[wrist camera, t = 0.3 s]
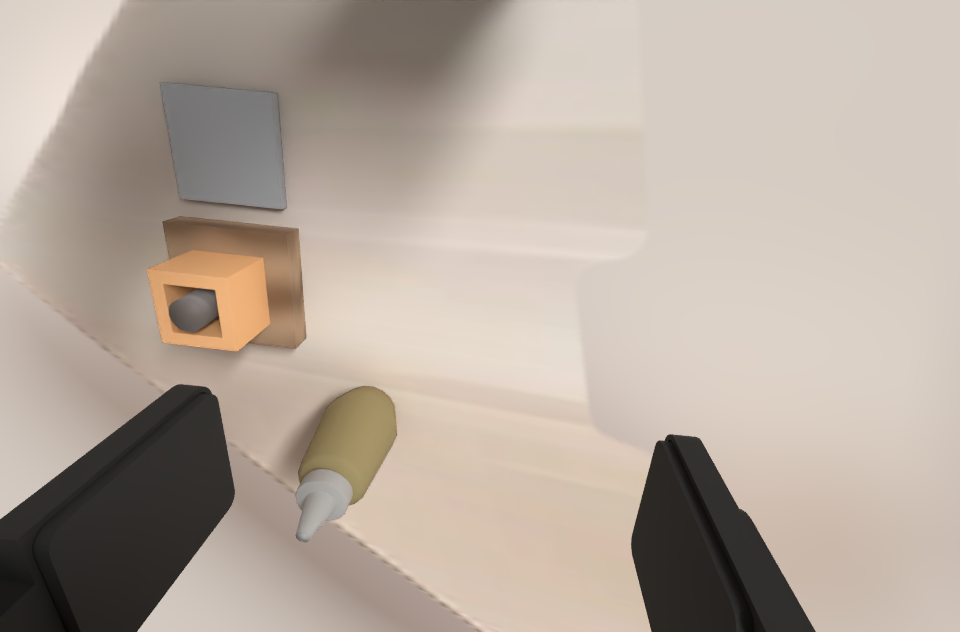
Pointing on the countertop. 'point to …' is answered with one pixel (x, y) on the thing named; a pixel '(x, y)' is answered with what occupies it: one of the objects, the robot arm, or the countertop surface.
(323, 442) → the squeeze bottle
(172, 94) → the pad
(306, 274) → the countertop surface
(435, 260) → the countertop surface
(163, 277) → the collar
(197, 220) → the stand
